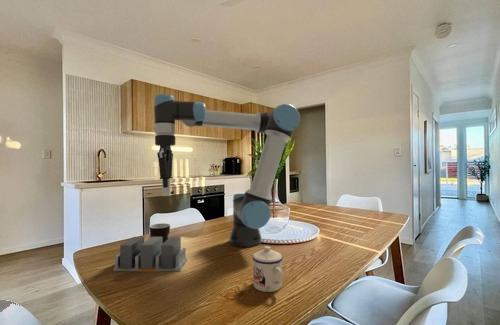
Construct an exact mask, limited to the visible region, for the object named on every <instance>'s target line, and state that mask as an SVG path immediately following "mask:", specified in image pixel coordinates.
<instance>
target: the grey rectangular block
mask: <svg viewBox="0 0 500 325" xmlns="http://www.w3.org/2000/svg"><path fill="white" fill-rule="evenodd" d="M162 244H163V237H150V238H148V239H147V240H145V241H144V243H143V244H141V268H153V267H154V266H155V265H156V256H157V255H158V254H159V253H160V252H161V245H162Z"/></svg>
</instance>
